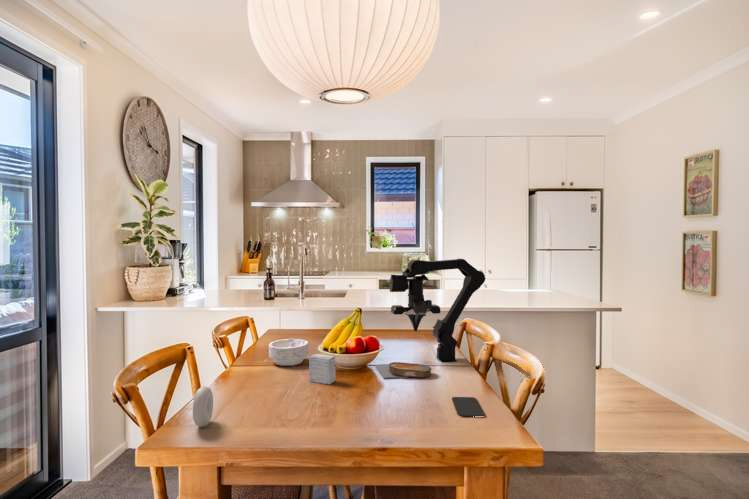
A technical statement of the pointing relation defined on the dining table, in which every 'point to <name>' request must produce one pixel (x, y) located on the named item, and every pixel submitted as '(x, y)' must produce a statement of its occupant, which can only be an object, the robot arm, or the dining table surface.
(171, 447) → the dining table surface
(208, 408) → the grey marbled disc
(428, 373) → the tin
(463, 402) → the phone
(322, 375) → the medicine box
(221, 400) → the dining table surface
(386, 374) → the tin mat
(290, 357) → the marble bowl
